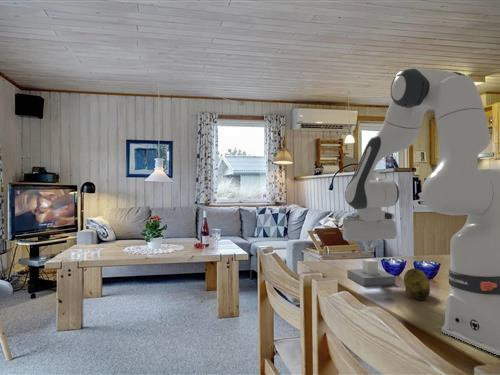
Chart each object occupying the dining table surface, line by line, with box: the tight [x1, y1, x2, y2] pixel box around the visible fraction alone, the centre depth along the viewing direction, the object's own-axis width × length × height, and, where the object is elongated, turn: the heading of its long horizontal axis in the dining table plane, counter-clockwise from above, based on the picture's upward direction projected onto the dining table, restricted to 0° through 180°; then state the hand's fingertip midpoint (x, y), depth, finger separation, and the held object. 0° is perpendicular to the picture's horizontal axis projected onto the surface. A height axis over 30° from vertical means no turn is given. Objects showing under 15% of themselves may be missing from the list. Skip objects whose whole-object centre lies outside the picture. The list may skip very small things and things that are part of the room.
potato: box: [403, 268, 431, 301], centre depth 120 cm, size 8×13×8 cm, turn 150°
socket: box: [346, 268, 396, 288], centre depth 140 cm, size 14×12×3 cm
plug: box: [362, 258, 379, 275], centre depth 140 cm, size 4×4×7 cm
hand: (369, 251), depth 140 cm, fingers closed
